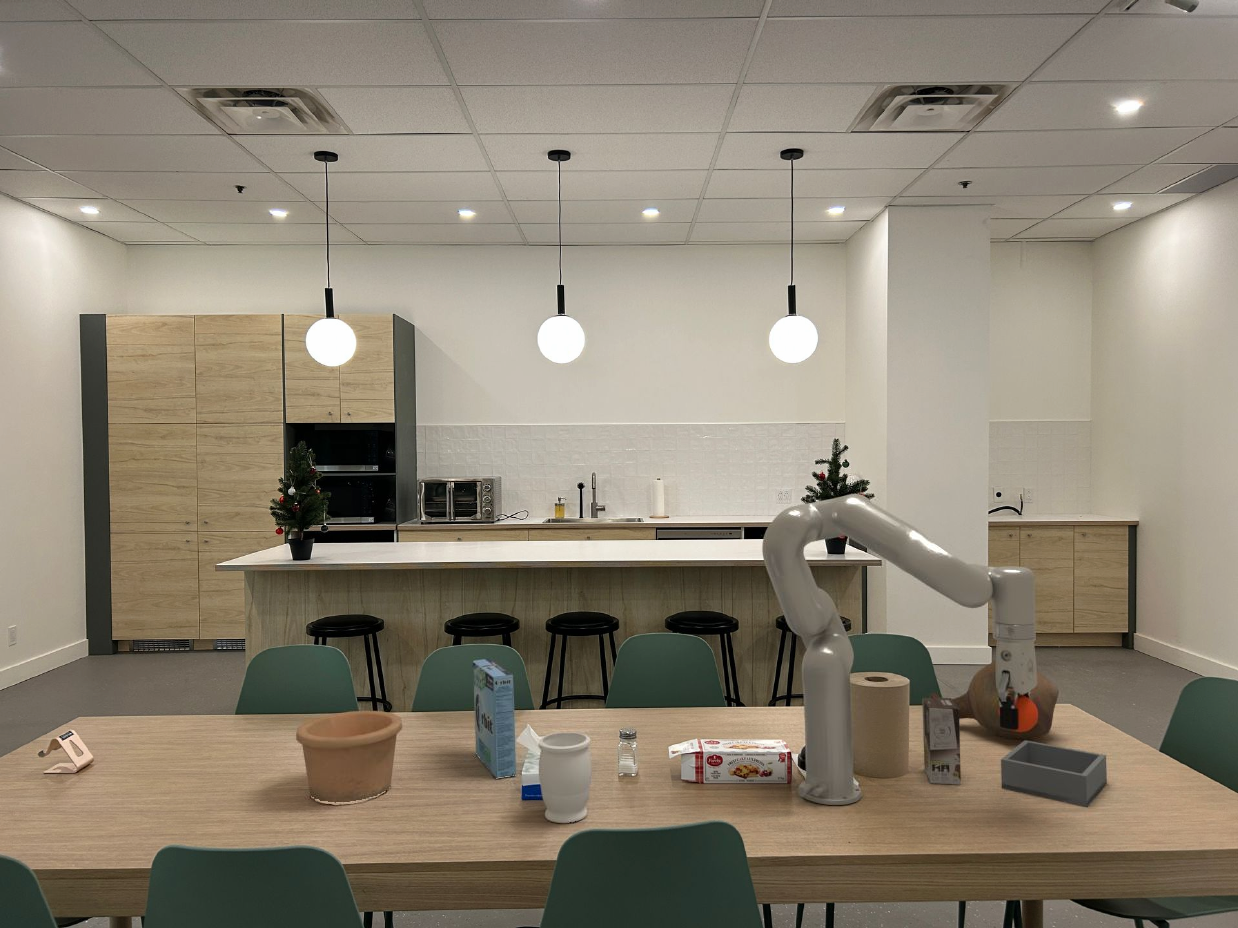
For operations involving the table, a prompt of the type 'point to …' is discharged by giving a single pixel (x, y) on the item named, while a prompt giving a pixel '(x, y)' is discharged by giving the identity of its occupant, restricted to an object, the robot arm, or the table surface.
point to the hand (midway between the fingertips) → (1015, 722)
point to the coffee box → (941, 740)
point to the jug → (983, 697)
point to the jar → (565, 775)
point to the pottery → (349, 754)
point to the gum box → (494, 717)
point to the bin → (1054, 772)
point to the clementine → (1025, 713)
